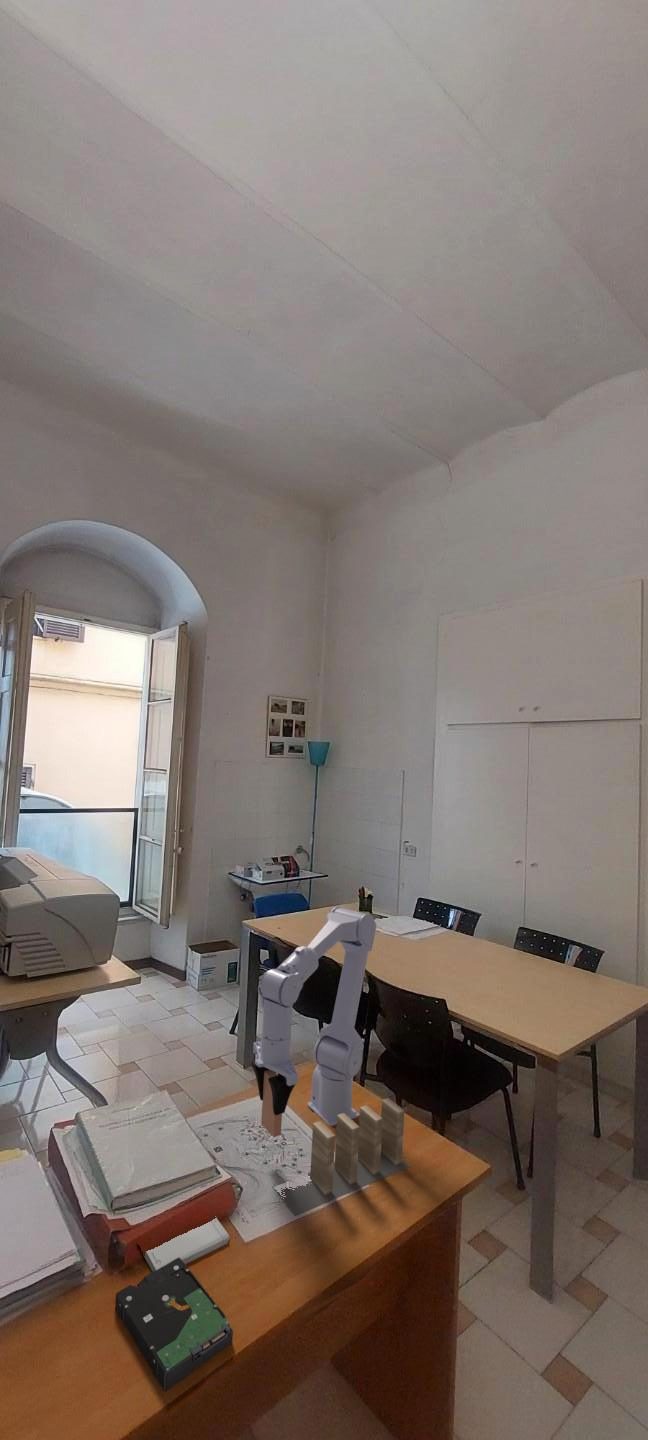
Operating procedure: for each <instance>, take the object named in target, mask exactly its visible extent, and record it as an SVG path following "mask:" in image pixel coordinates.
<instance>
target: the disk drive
mask: <svg viewBox="0 0 648 1440" xmlns="http://www.w3.org/2000/svg"><path fill="white" fill-rule="evenodd" d="M114 1306H115V1308H114V1310H115V1312H116V1314H117V1315H118V1318H119V1319H120V1321H121V1323H123V1326H124V1327H125V1328H126V1330H127V1332H128V1333H129V1335H130V1337H131V1338H132V1340H133V1341H134V1343H135V1345H136V1346H137V1349H138V1350H139V1352H140V1354H141V1355H142V1357H143V1358H144V1360H145V1361H146V1363H147V1365H148V1367H149V1368H150V1370H151V1372H152V1374H153V1376H154V1378H155V1379H156V1380H157V1382H158V1383H159V1386H160V1387H161V1389H162V1391H163V1392H167V1391H168V1390H169V1389H171V1388H173V1386H175V1385H176V1384H177V1383H180V1382H181V1381H182V1380H183V1379H185V1378H186V1377H187V1376H189V1375H190V1374H192V1373H193V1372H195V1371H196V1370H197V1369H199V1367H201V1366H203V1365H204V1364H205V1363H207V1362H208V1361H210V1360H211V1359H213V1358H214V1357H216V1356H217V1355H218V1354H219V1353H221V1352H222V1351H223V1350H225V1349H227V1348H228V1347H229V1346H231V1345H232V1344H233V1336H234V1330H233V1328H232V1327H231V1325H230V1321H229V1320H228V1319H227V1317H226V1313H224V1312H223V1309H220V1307H219V1306H218V1304H216V1302H215V1300H214V1299H213V1298H212V1297H211V1296H210V1294H209V1293H208V1291H207V1290H206V1289H205V1288H204V1286H203V1285H202V1284H201V1283H200V1282H199V1280H198V1279H197V1278H196V1276H195V1275H194V1273H193V1272H192V1271H191V1270H190V1269H189V1266H188V1265H187V1264H185V1263H184V1262H183V1261H182V1260H181V1259H180V1258H177V1259H175V1260H173V1261H172V1262H170V1263H168V1264H167V1265H165V1266H163V1267H161V1268H159V1269H158V1270H156V1271H154V1272H152V1271H151V1273H149V1274H147V1275H145V1276H144V1277H143V1278H142V1279H141V1280H140V1281H139V1282H138V1284H137V1285H132V1284H129V1285H127V1286H126V1287H124V1288H122V1289H121V1290H118V1291H117V1292H116V1293H115V1305H114Z"/></svg>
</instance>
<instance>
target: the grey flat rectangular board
mask: <svg viewBox="0 0 648 1440" xmlns="http://www.w3.org/2000/svg"><path fill="white" fill-rule="evenodd" d="M410 1167H411V1166H410V1165H409V1164H407V1163H406V1162H405V1160H403V1159H402V1163H401V1164H399V1165H396V1166H395V1165H394V1164H393V1163H392V1162H391V1161H390V1160H389V1159H388V1158H387V1157H385V1156H384V1155H383V1154H382V1153H381V1160H380V1173H377V1174H375V1175H373V1174H372V1173H371V1172H370V1171H369V1170H367V1169H366V1168H365V1167H364V1166H363V1165H362V1164H361V1163H360V1162H359V1161H358V1166H357V1182H356V1183H354V1184H351V1185H349V1184H348V1183H347V1182H346V1181H345V1180H344V1179H343V1177H342V1176H341V1175H340V1174H339V1173H338V1172H337V1171H336V1170H335V1169H333V1188H332V1193H330V1194H327V1195H324V1194H323V1193H322V1192H321V1190H320V1189H319V1188H318V1187H317V1186H316V1185H315V1184H314V1182H313V1181H312V1182H310V1183H312V1184H310V1185H309V1184H306V1186H303V1185H302V1186H297V1187H298V1188H297V1187H296V1188H292V1187H289V1188H292V1189H295V1190H292V1189H288V1188H286V1187H285V1188H286V1189H283V1190H284V1191H283V1190H281V1191H282V1192H281V1193H282V1194H281V1195H283V1194H285V1195H283V1196H286V1197H283V1196H281V1195H280V1193H279V1192H277V1193H278V1194H277V1193H276V1194H277V1196H280V1197H279V1198H280V1199H281V1200H282V1202H283V1203H284V1204H285V1206H286V1207H287V1208H288V1209H289V1211H290V1213H292V1215H293V1216H294V1217H295V1216H296V1217H297V1216H298V1215H301V1214H303V1213H306V1212H307V1211H310V1210H312V1209H314V1208H317V1207H319V1206H322V1205H324V1204H326V1203H329V1202H331V1201H333V1200H336V1199H338V1198H340V1197H342V1196H346V1195H347V1194H349V1193H352V1192H354V1191H356V1190H359V1189H361V1188H363V1187H366V1186H368V1185H370V1184H373V1183H375V1182H378V1181H379V1180H382V1179H384V1178H387V1177H389V1176H392V1175H394V1174H396V1173H399V1172H401V1171H403V1170H406V1169H407V1168H410ZM334 1168H335V1162H334ZM307 1173H308V1176H310V1171H309V1172H307ZM281 1189H282V1188H281ZM273 1190H274V1191H275V1192H276V1191H277V1190H275V1189H273ZM283 1192H285V1193H283ZM281 1197H282V1198H281ZM283 1198H284V1199H283ZM283 1200H284V1201H283Z"/></svg>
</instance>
